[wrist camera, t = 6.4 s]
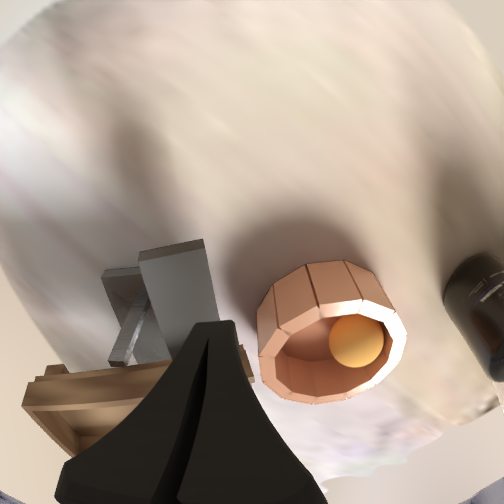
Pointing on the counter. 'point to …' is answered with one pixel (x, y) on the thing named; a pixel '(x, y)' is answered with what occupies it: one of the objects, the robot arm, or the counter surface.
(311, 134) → the counter surface
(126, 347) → the trough stand
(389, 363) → the cup
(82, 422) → the brown tray
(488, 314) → the supplement bottle
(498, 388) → the white tapered cylinder
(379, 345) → the ball
